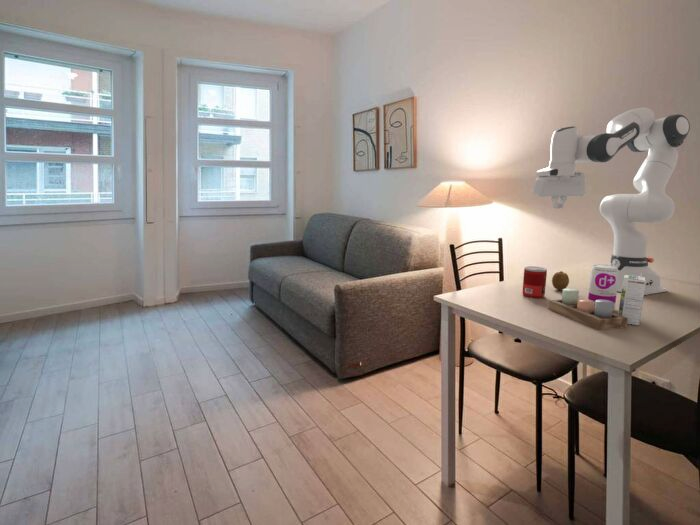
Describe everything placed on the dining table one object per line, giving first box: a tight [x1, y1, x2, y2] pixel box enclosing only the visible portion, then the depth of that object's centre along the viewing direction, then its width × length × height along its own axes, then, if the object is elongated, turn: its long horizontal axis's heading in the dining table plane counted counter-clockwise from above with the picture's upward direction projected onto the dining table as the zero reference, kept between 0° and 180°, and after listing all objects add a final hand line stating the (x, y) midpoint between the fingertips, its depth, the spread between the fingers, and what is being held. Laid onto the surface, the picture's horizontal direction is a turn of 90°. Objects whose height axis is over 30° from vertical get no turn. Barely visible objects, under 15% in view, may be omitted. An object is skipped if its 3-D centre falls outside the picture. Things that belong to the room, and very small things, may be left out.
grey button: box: [594, 299, 614, 319], centre depth 125 cm, size 5×5×5 cm
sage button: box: [561, 288, 580, 306], centre depth 138 cm, size 5×5×5 cm
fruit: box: [551, 270, 570, 291], centre depth 166 cm, size 6×6×8 cm
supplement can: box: [587, 264, 619, 310], centre depth 140 cm, size 8×8×15 cm
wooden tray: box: [547, 298, 628, 331], centre depth 132 cm, size 10×22×3 cm, turn 12°
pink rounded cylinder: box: [577, 298, 595, 312], centre depth 132 cm, size 5×5×5 cm
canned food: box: [522, 265, 548, 299], centre depth 157 cm, size 8×8×11 cm
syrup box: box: [617, 275, 646, 326], centre depth 126 cm, size 6×6×14 cm
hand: (558, 208), depth 155 cm, fingers closed
